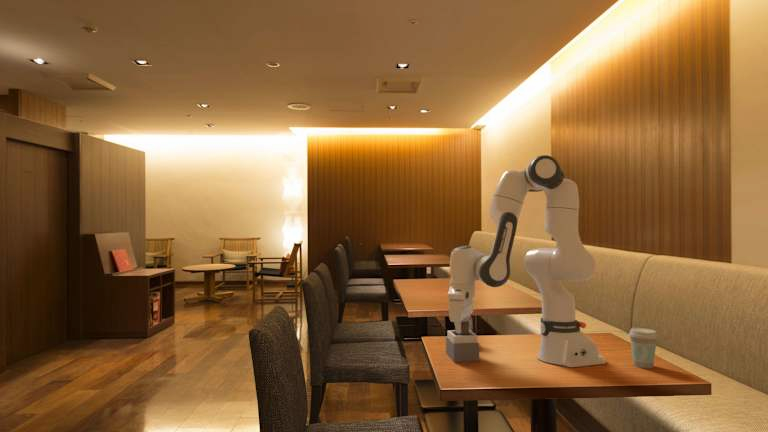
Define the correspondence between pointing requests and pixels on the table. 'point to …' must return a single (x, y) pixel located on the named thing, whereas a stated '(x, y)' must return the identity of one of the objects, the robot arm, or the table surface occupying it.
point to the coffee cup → (643, 346)
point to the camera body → (462, 347)
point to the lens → (464, 327)
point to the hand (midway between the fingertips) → (462, 330)
